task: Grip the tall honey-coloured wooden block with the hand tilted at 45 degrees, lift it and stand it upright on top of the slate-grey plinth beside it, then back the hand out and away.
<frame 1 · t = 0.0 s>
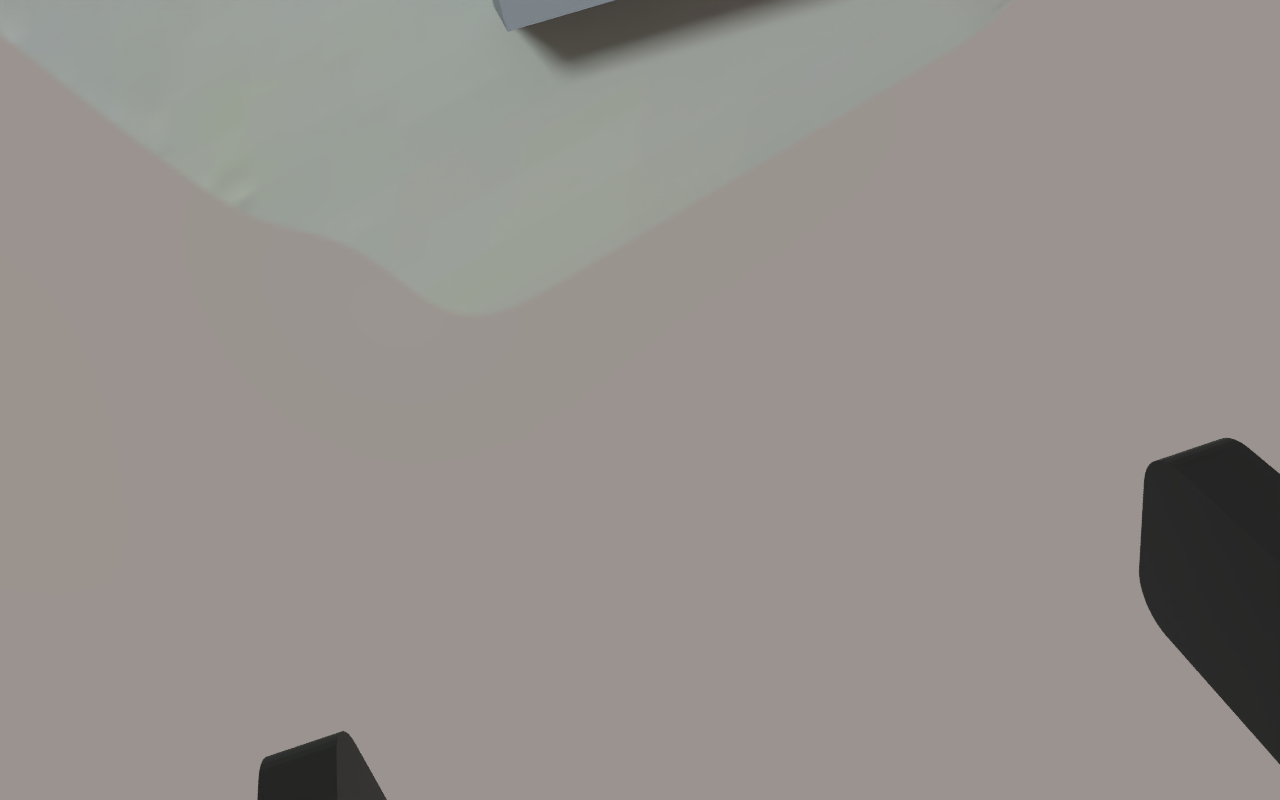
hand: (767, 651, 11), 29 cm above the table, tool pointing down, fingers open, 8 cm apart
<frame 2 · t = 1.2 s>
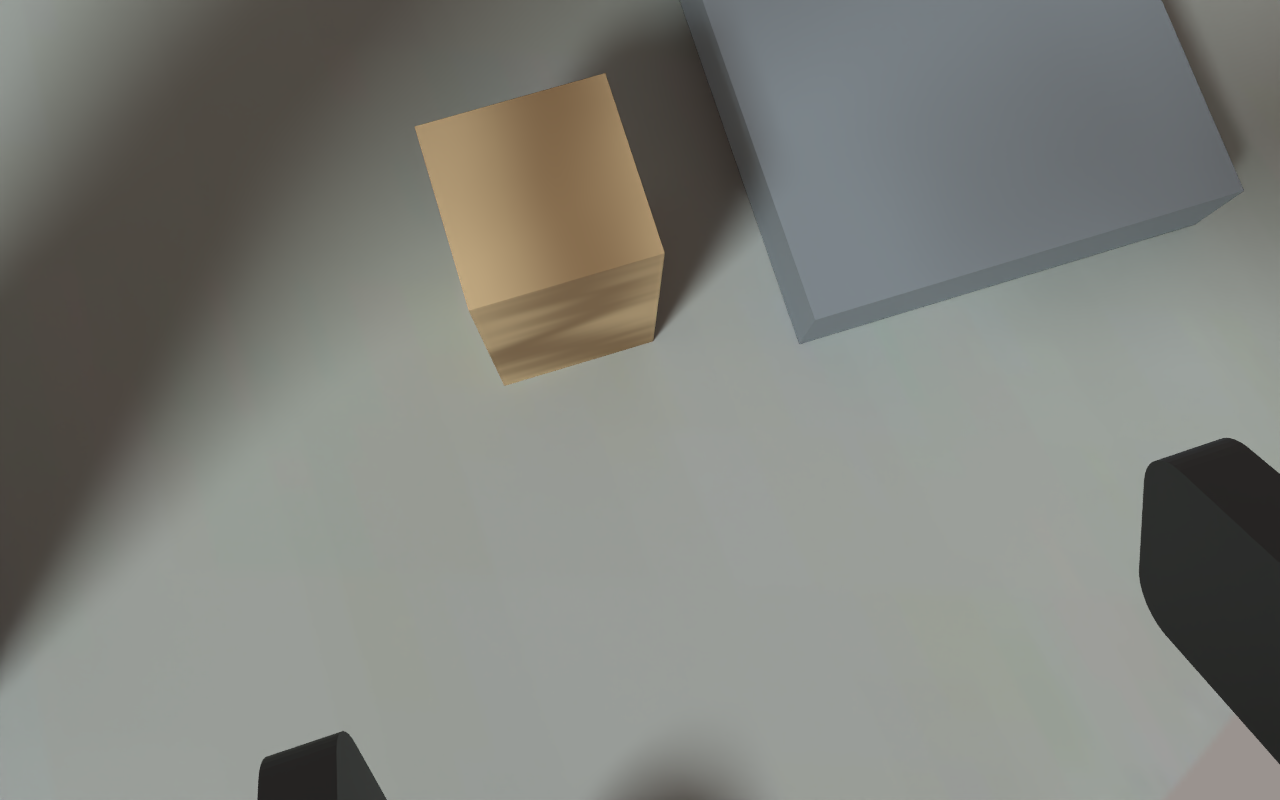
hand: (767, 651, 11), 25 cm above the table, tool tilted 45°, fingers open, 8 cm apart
block: (557, 291, 37), on the table
plinth: (927, 93, 39), on the table
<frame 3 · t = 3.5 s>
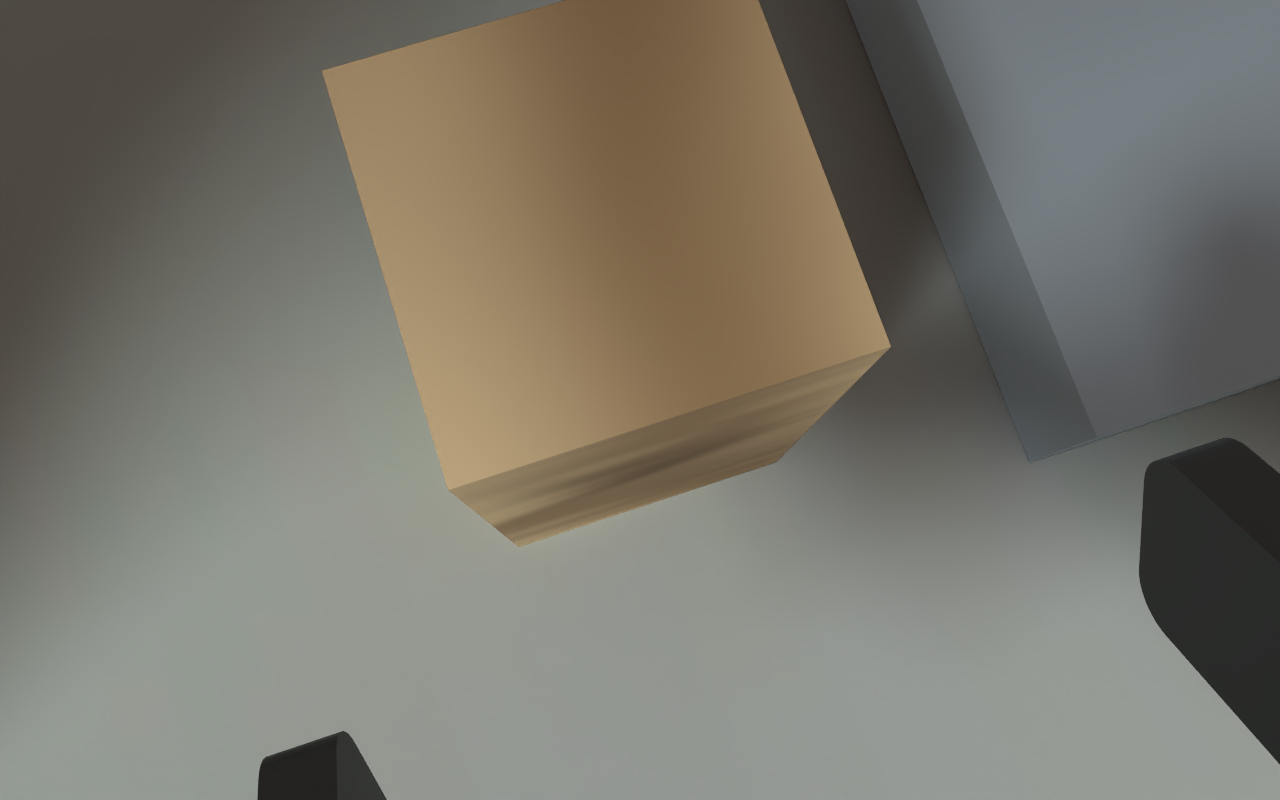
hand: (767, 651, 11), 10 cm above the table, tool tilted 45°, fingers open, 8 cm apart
block: (606, 378, 21), on the table
plinth: (1218, 29, 23), on the table
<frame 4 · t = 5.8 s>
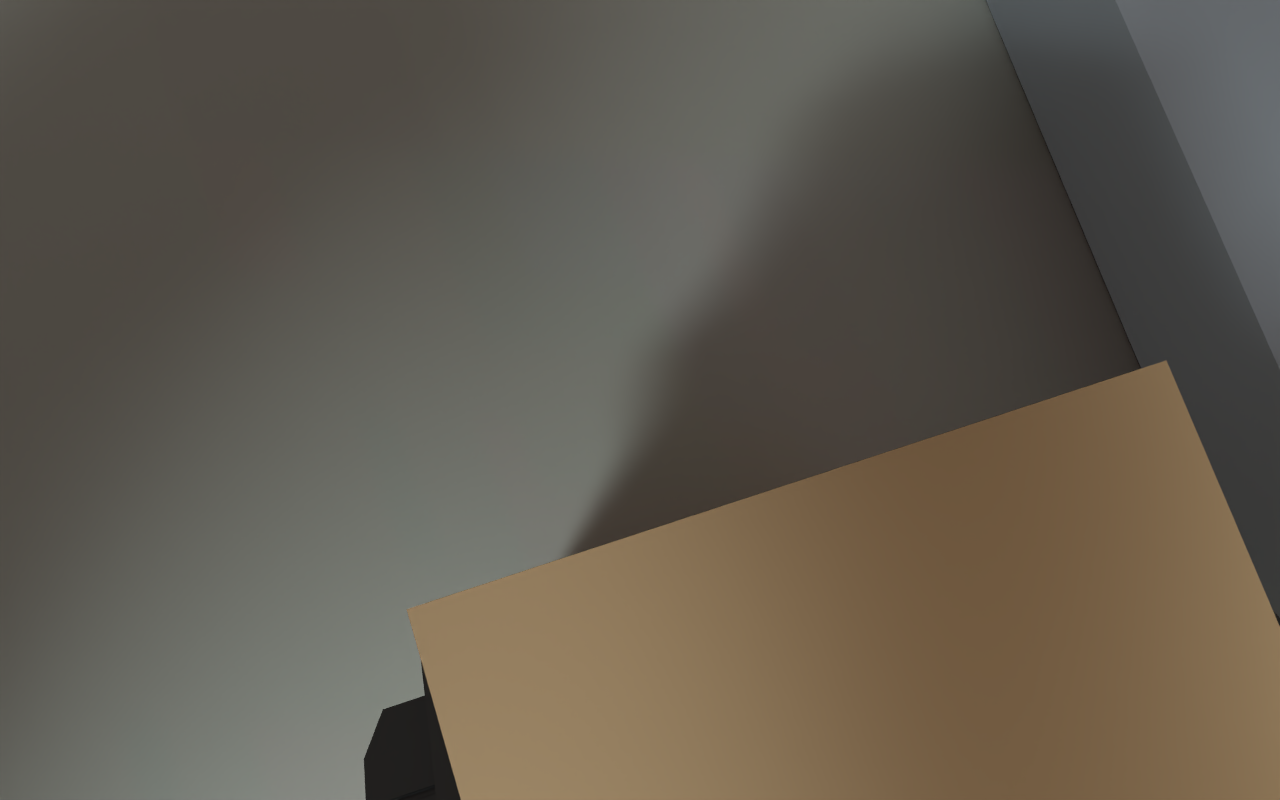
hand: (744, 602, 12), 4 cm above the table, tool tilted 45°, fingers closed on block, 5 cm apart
block: (757, 738, 15), on the table, touching gripper
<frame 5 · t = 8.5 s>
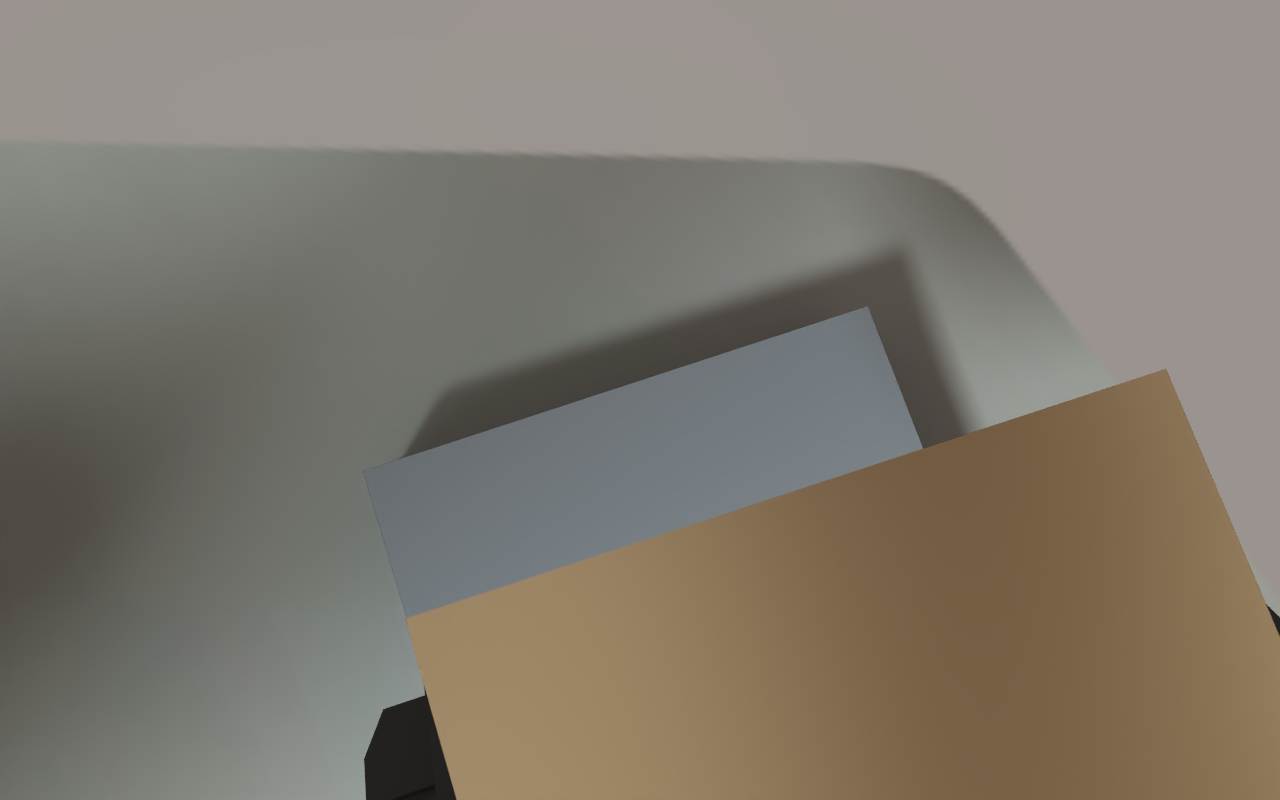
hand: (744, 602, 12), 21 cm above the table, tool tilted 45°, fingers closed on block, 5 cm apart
block: (757, 742, 15), point 16 cm above the table, touching gripper
plinth: (699, 642, 32), on the table
when the fingers open (9 cm above the table, at t = 11.3 s): block drops 1 cm, resting on plinth.
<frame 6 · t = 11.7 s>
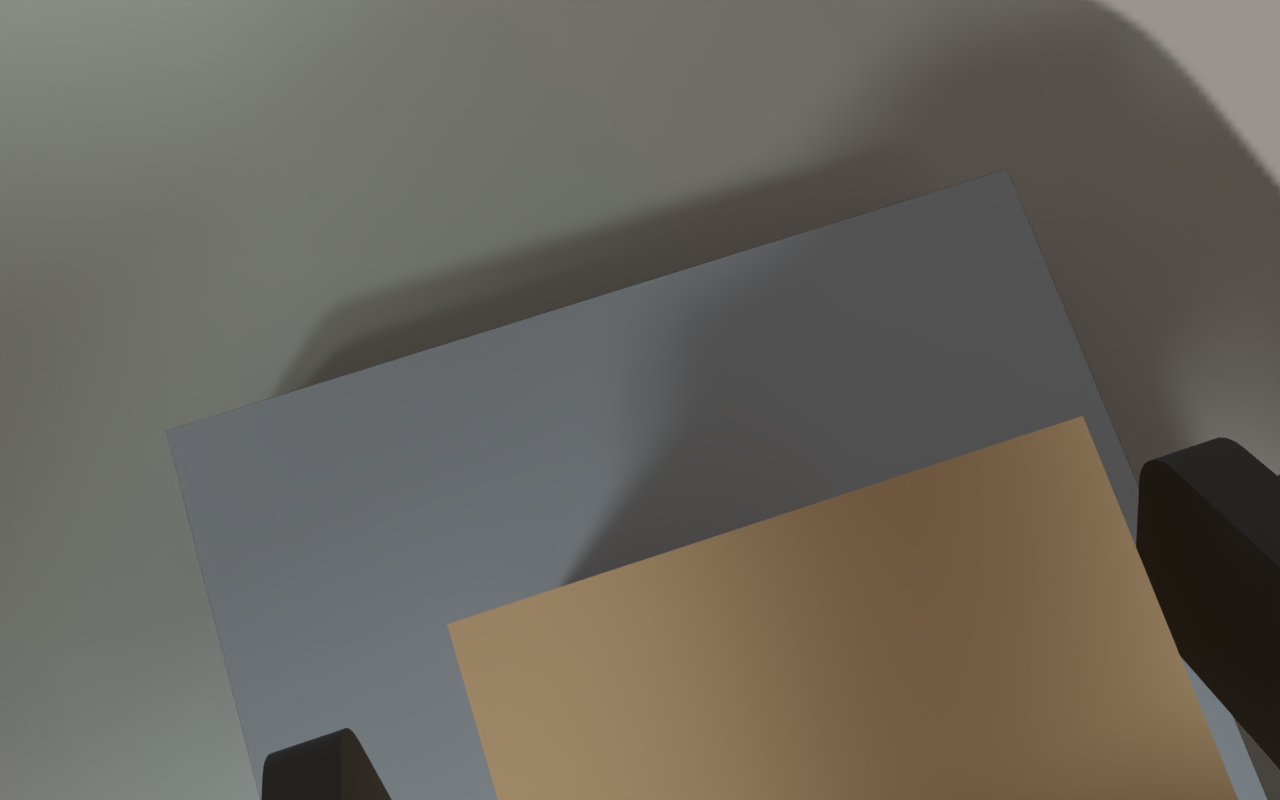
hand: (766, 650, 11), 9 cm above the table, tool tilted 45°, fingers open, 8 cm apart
block: (747, 734, 17), point 3 cm above the table, touching plinth
plinth: (725, 714, 20), on the table
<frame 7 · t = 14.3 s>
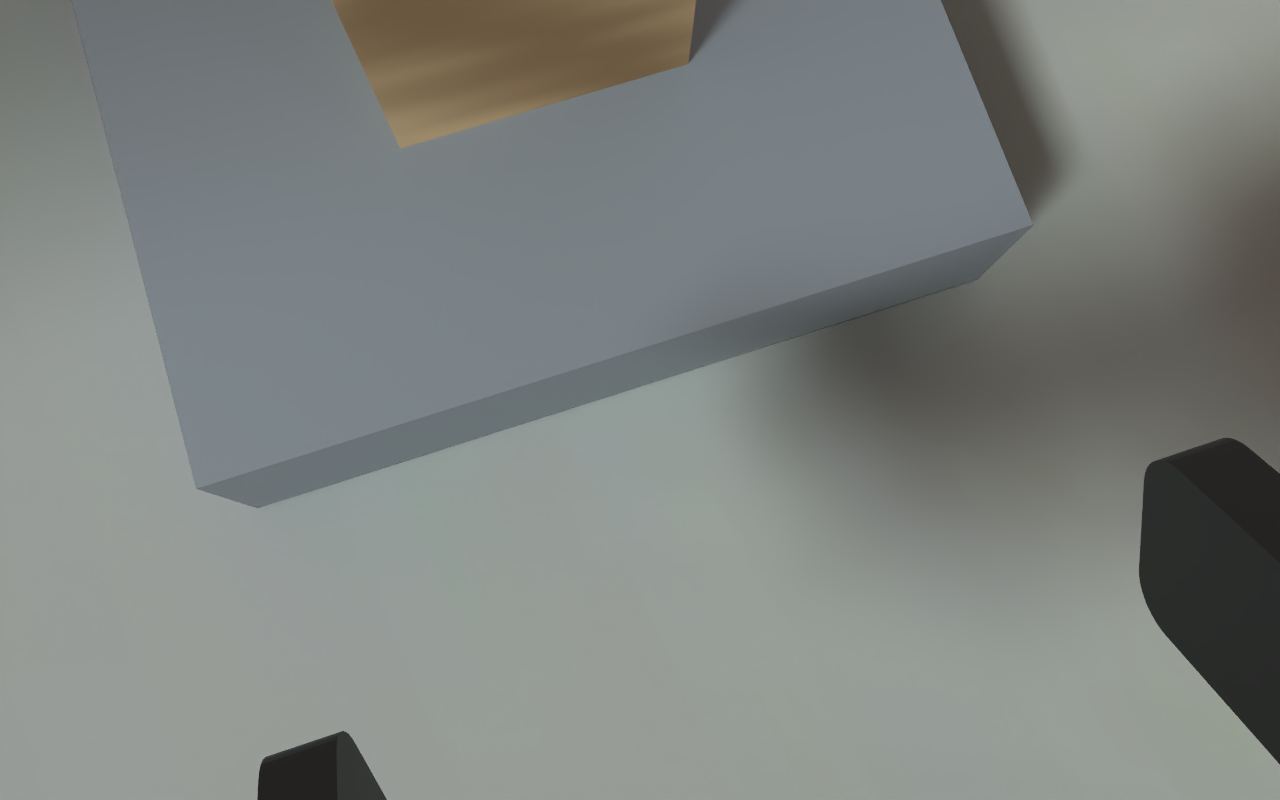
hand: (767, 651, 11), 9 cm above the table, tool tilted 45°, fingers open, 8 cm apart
plinth: (515, 57, 22), on the table
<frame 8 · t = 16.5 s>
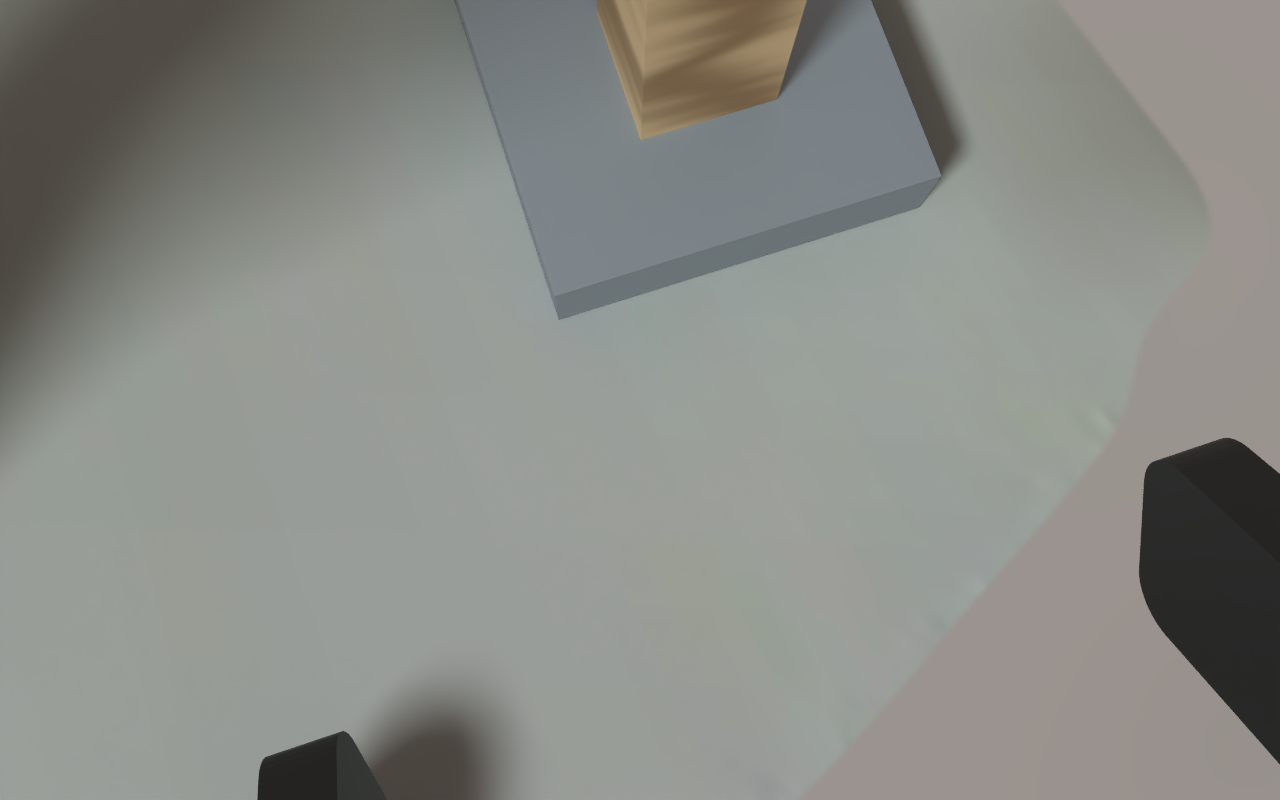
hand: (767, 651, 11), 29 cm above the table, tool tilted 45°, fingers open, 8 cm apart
block: (686, 56, 40), point 3 cm above the table, touching plinth
plinth: (680, 93, 43), on the table
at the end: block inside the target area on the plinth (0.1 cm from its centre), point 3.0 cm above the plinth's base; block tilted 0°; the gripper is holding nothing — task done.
